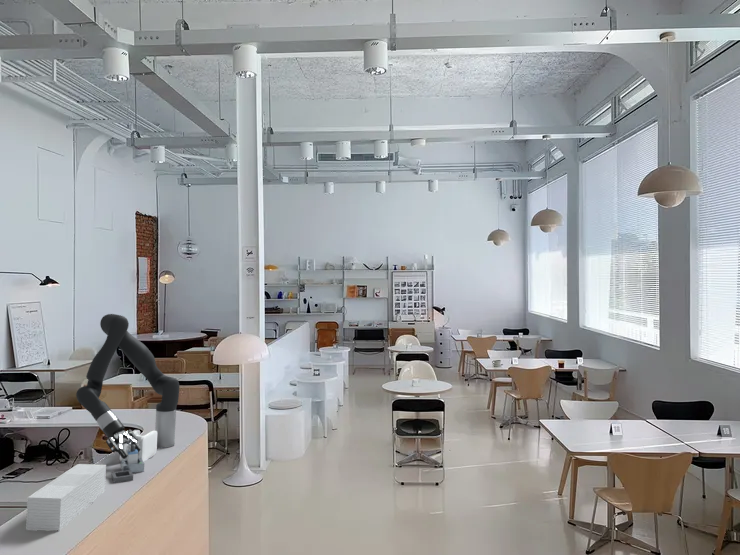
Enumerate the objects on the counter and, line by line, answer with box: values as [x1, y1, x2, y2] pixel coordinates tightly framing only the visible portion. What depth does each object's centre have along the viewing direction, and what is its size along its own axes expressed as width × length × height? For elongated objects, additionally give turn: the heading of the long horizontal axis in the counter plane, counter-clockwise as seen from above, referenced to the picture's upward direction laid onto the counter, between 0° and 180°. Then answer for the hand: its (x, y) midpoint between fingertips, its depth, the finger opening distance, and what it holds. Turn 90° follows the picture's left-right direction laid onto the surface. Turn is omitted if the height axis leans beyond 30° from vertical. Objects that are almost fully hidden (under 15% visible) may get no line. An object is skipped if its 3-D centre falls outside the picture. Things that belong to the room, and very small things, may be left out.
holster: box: [111, 470, 134, 484], centre depth 223 cm, size 7×7×2 cm
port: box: [120, 458, 145, 474], centre depth 233 cm, size 8×8×4 cm
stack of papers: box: [25, 463, 107, 532], centre depth 194 cm, size 32×11×11 cm, turn 1°
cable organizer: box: [119, 429, 158, 463], centre depth 248 cm, size 15×11×12 cm
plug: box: [127, 444, 138, 465], centre depth 233 cm, size 4×4×10 cm
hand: (132, 454), depth 233 cm, fingers open, 8 cm apart
